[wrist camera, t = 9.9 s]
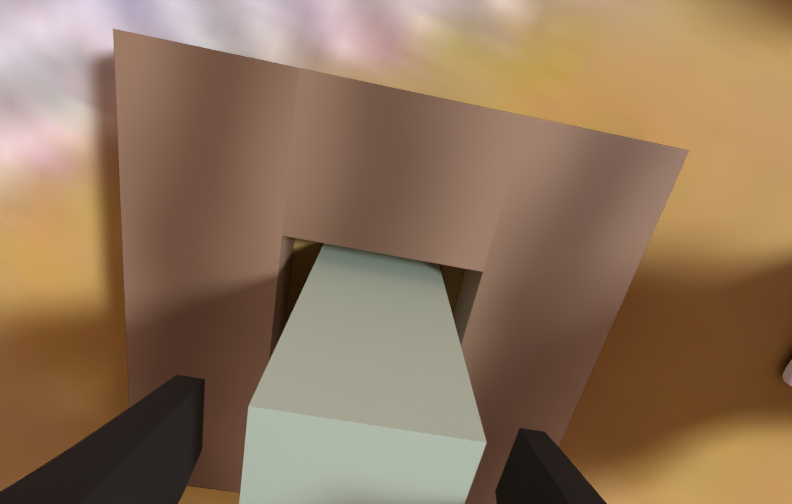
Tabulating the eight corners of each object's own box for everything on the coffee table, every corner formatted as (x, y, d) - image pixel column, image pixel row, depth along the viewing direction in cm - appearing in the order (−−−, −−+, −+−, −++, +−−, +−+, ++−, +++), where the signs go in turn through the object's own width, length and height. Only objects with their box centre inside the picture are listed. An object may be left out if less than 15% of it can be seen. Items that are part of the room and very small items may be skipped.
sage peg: (438, 262, 14) (486, 443, 7) (414, 357, 16) (432, 591, 8) (324, 241, 14) (248, 405, 7) (310, 339, 16) (233, 567, 8)
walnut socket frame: (646, 142, 13) (689, 150, 11) (508, 485, 18) (522, 530, 16) (157, 38, 12) (113, 28, 10) (160, 436, 17) (132, 478, 15)
